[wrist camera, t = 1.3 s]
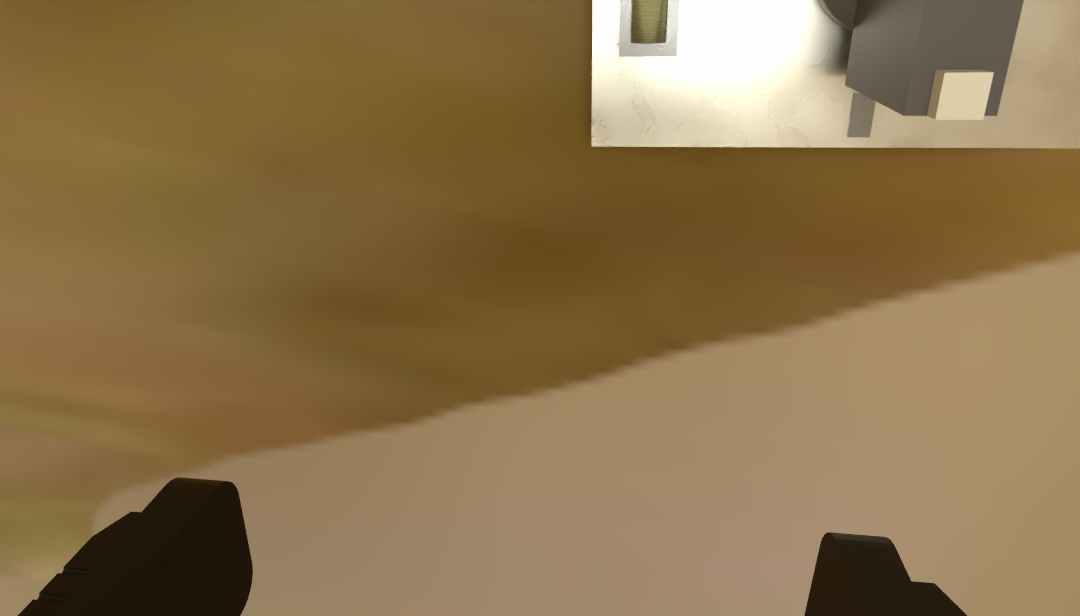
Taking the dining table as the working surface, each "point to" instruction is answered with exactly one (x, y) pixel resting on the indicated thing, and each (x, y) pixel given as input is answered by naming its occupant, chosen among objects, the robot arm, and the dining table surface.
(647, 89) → the levelling base
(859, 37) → the wing knob
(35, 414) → the dining table surface
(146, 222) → the dining table surface
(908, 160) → the dining table surface
